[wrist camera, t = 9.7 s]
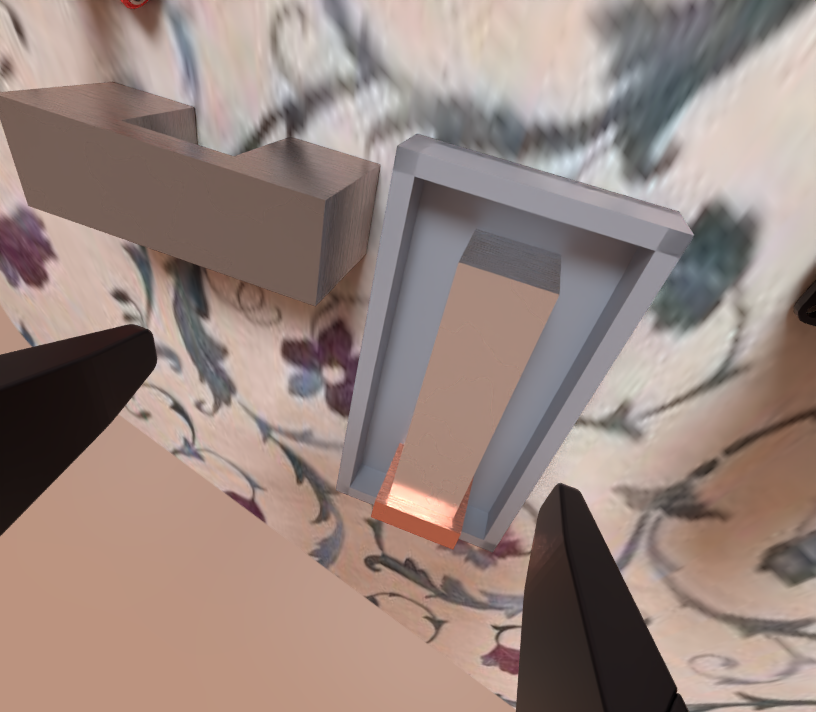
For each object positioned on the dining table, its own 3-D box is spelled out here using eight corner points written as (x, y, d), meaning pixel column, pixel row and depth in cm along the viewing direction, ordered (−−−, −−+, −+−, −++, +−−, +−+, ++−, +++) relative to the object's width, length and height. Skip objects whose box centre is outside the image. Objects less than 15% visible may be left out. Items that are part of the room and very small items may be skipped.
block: (380, 164, 18) (325, 200, 14) (366, 253, 21) (315, 306, 17) (112, 82, 20) (-9, 93, 15) (128, 174, 22) (28, 205, 18)
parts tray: (679, 211, 16) (694, 235, 14) (498, 516, 28) (492, 552, 26) (417, 133, 17) (397, 145, 15) (351, 460, 29) (335, 490, 27)
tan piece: (462, 224, 18) (438, 265, 15) (575, 259, 18) (576, 310, 14) (394, 458, 27) (370, 516, 24) (467, 486, 27) (453, 549, 23)
